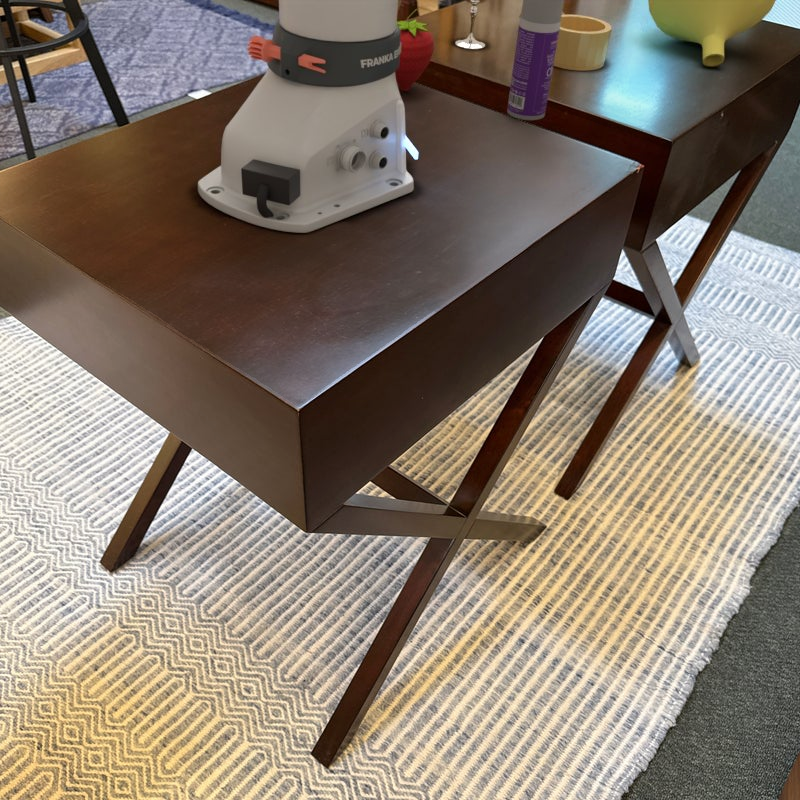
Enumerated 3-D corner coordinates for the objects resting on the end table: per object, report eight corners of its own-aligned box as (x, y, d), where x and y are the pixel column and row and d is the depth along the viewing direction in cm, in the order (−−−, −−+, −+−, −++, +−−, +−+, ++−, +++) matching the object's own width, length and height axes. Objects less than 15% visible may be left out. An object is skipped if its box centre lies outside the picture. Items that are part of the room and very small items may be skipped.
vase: (726, -125, 113) (728, -3, 109) (806, -61, 123) (810, 54, 119) (623, -45, 129) (620, 65, 124) (700, 6, 138) (701, 110, 134)
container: (546, 121, 102) (570, -13, 93) (508, 119, 102) (527, -16, 92) (542, 107, 106) (564, -23, 96) (505, 104, 106) (523, -26, 96)
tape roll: (588, 75, 116) (596, 37, 113) (530, 60, 120) (536, 23, 117) (613, 60, 122) (621, 23, 119) (557, 46, 126) (563, 10, 123)
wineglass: (466, 36, 127) (475, -53, 120) (497, 45, 124) (509, -45, 117) (442, 43, 124) (450, -48, 116) (474, 53, 121) (484, -39, 113)
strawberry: (439, 87, 109) (447, 5, 103) (413, 104, 104) (419, 19, 97) (399, 78, 111) (404, -4, 105) (371, 94, 106) (375, 9, 99)
